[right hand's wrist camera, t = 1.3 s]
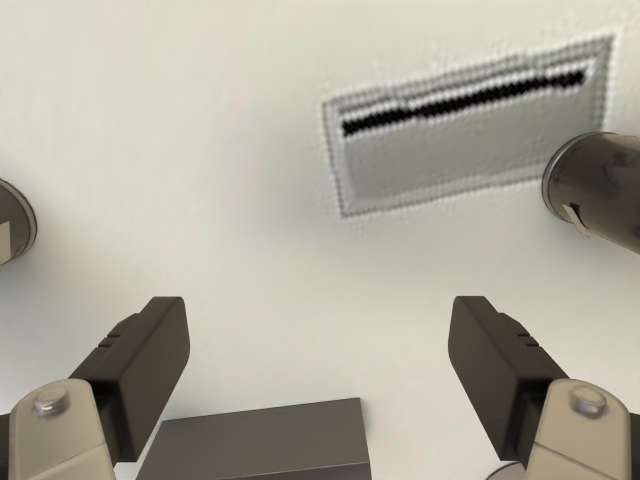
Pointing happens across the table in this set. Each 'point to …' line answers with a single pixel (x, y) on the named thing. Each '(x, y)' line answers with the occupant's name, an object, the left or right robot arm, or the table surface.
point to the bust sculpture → (510, 473)
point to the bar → (263, 445)
